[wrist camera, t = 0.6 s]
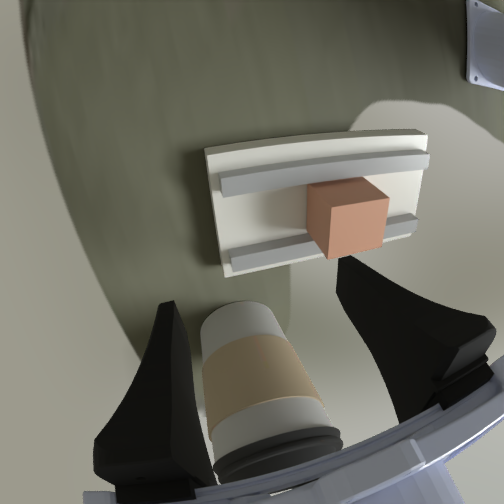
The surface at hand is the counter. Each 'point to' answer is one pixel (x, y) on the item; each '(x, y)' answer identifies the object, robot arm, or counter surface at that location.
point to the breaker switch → (346, 216)
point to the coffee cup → (259, 397)
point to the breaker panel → (304, 190)
